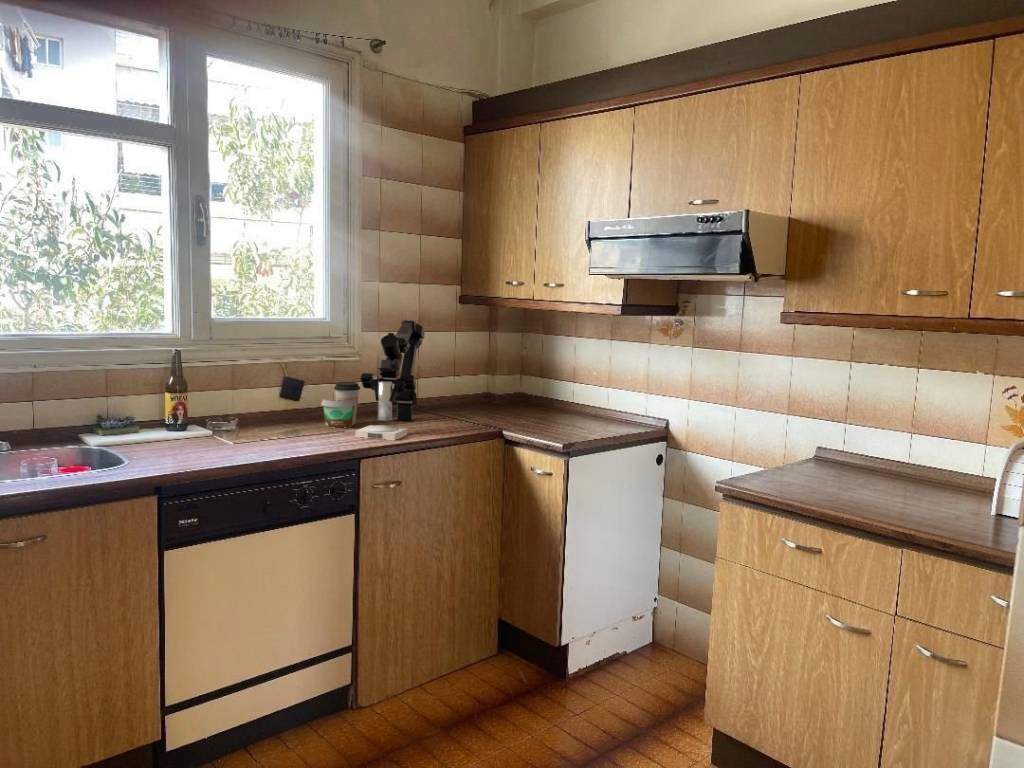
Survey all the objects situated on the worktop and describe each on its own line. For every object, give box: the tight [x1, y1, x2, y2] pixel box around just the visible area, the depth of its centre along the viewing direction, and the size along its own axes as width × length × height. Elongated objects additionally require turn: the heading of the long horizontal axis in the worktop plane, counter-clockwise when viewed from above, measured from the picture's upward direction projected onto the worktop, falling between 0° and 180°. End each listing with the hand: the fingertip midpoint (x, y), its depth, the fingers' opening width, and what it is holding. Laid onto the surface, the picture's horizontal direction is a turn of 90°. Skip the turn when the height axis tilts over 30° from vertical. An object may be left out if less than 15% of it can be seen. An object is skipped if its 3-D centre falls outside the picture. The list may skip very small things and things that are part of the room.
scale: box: [355, 424, 408, 441], centre depth 253 cm, size 12×14×3 cm
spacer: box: [377, 381, 393, 421], centre depth 256 cm, size 5×5×13 cm
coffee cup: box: [333, 381, 361, 425], centre depth 273 cm, size 9×9×15 cm
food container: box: [321, 398, 356, 429], centre depth 266 cm, size 12×6×10 cm, turn 105°
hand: (384, 400), depth 255 cm, fingers closed on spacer, 5 cm apart
